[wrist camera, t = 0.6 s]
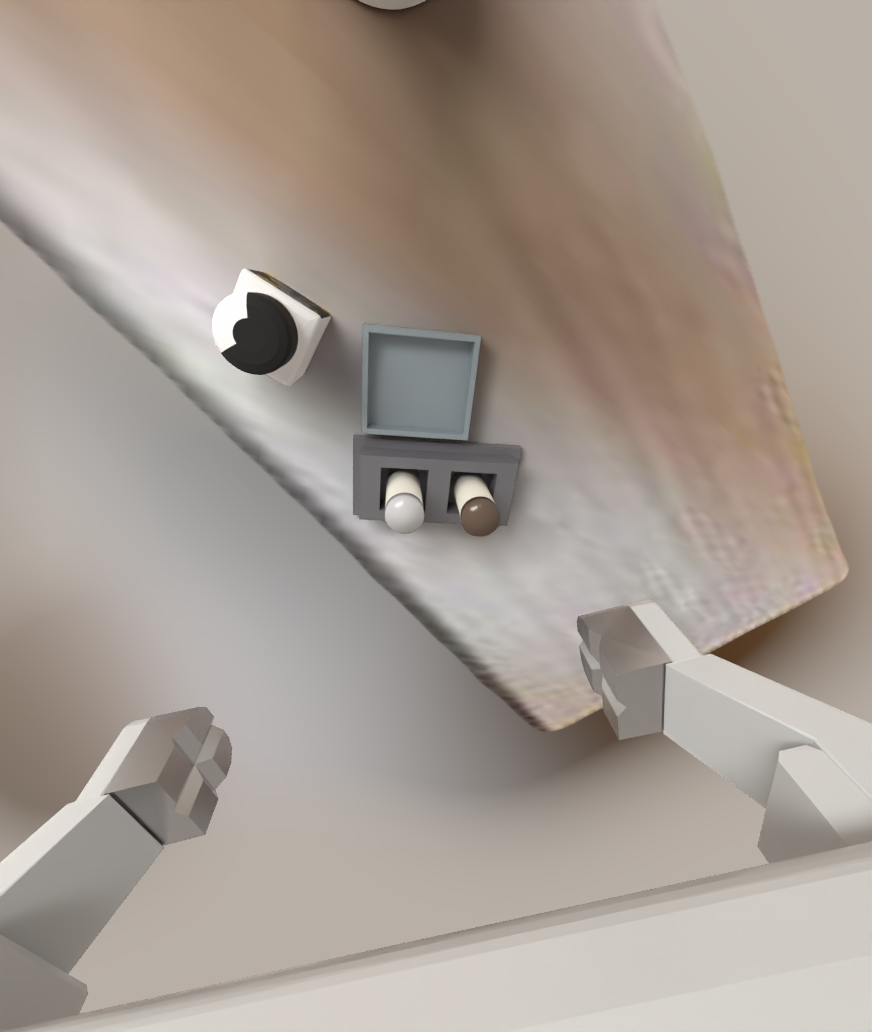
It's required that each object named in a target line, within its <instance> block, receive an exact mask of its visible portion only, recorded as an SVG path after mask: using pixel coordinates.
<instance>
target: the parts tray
mask: <svg viewBox="0 0 872 1032" xmlns="http://www.w3.org/2000/svg"><path fill="white" fill-rule="evenodd" d="M480 342H481V336H480V335H477V334H467V333H457V332H447V331H436V330H426V329H415V328H405V327H395V326H384V325H374V324H363V332H362V420H361V433H363V434H378V435H393V436H409V437H424V438H439V439H454V440H468V434H469V426H470V419H471V411H472V404H473V396H474V388H475V381H476V373H477V365H478V358H479V350H480Z"/></svg>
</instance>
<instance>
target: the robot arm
mask: <svg viewBox="0 0 872 1032" xmlns="http://www.w3.org/2000/svg"><path fill="white" fill-rule="evenodd" d="M359 1H361V2H363V3H365V4H367V5H370V6H373V7H377V8H381V9H394V10H395V9H404V8H408V7H412V6H415V5H417V4H420V3H422V2H424V1H425V0H359ZM577 628H578V632H579V634H580V636H581V637H582V639H583V641H582V643H581V644H580V646H579V648H580V655H581V660H582V664H583V668H584V671H585V674H586V676H587V678H588V681H589V683H590V685H591V687H592V689H593V691H594V692H596V693H597V694H599V695H601V696H602V700H603V710H604V712H605V714H606V716H607V718H608V720H609V722H610V723H611V725H612V727H613V729H614V731H615V733H616V735H617V737H618V739H619V740H622V739H627V738H632V737H637V736H642V735H646V734H652V733H657V732H662V731H664V734H665V735H666V736H668V737H669V738H670V739H672V740H673V741H674V742H676V743H677V744H679V745H680V746H681V747H683V748H684V749H685V750H687V751H688V752H689V753H691V754H692V755H693V756H695V757H696V758H697V759H699V760H700V761H702V762H703V763H705V764H706V765H707V766H708V767H710V768H711V769H712V770H714V771H715V772H717V773H718V774H719V775H721V776H722V777H723V778H725V779H726V780H727V781H729V782H730V783H732V784H733V785H735V786H736V787H737V788H738V789H740V790H741V791H743V792H744V793H745V794H747V795H748V796H749V797H751V798H752V799H754V800H755V801H756V802H758V803H759V804H761V805H762V806H763V807H764V808H766V811H765V815H764V820H763V824H762V829H761V833H760V838H759V842H758V848H759V849H760V851H761V852H762V854H763V855H764V857H765V858H766V860H767V861H768V863H769V864H765V865H761V866H756V867H751V868H747V869H742V870H738V871H733V872H728V873H724V874H720V875H715V876H710V877H706V878H701V879H696V880H692V881H687V882H683V883H678V884H674V885H669V886H664V887H660V888H655V889H650V890H646V891H642V892H637V893H632V894H627V895H623V896H618V897H614V898H609V899H604V900H601V901H595V902H591V903H587V904H582V905H577V906H573V907H568V908H563V909H558V910H554V911H550V912H545V913H540V914H536V915H531V916H526V917H522V918H517V919H513V920H508V921H503V922H499V923H495V924H490V925H485V926H480V927H476V928H472V929H467V930H462V931H458V932H453V933H449V934H444V935H439V936H435V937H431V938H425V939H421V940H416V941H412V942H407V943H402V944H398V945H393V946H389V947H384V948H379V949H375V950H370V951H366V952H361V953H356V954H352V955H347V956H343V957H338V958H334V959H329V960H324V961H320V962H316V963H310V964H306V965H301V966H297V967H292V968H287V969H283V970H278V971H274V972H269V973H265V974H260V975H255V976H251V977H246V978H242V979H237V980H232V981H228V982H223V983H219V984H214V985H210V986H205V987H200V988H196V989H191V990H187V991H182V992H178V993H173V994H168V995H164V996H159V997H155V998H150V999H145V1000H141V1001H136V1002H132V1003H127V1004H123V1005H118V1006H113V1007H109V1008H104V1009H100V1010H96V1011H90V1012H86V1013H82V1014H79V1013H80V1010H81V1008H82V1006H83V1004H84V1001H85V999H86V997H87V995H88V991H87V985H86V984H84V983H83V982H81V981H79V980H78V979H76V978H74V977H72V976H71V975H69V972H70V971H71V970H72V968H73V967H74V966H75V964H76V963H77V962H78V960H79V959H80V958H81V956H82V955H83V954H84V952H85V951H86V950H87V949H88V947H89V946H90V945H91V943H92V942H93V941H94V939H95V938H96V937H97V935H98V934H99V933H100V931H101V930H102V929H103V928H104V926H105V925H106V924H107V922H108V921H109V920H110V918H111V917H112V916H113V914H114V913H115V912H116V910H117V909H118V908H119V906H120V905H121V904H122V903H123V901H124V900H125V899H126V897H127V896H128V895H129V893H130V892H131V891H132V890H133V888H134V887H135V886H136V884H137V883H138V882H139V880H140V879H141V877H142V876H143V875H144V874H145V873H146V871H147V870H148V869H149V867H150V866H151V865H152V863H153V862H154V861H155V859H156V858H157V857H158V855H159V854H160V853H161V851H162V850H163V849H164V847H163V846H164V845H168V844H172V843H176V842H179V841H183V840H187V839H191V838H195V837H198V836H202V835H205V834H206V831H207V828H208V826H209V823H210V820H211V817H212V814H213V812H214V809H215V807H216V804H217V801H218V797H217V794H216V790H215V789H216V788H217V787H218V786H219V785H220V783H221V782H222V781H223V780H224V779H225V778H226V776H227V773H228V771H229V768H230V765H231V756H232V746H231V743H230V739H229V737H228V736H227V734H226V733H225V731H224V730H222V729H220V728H218V727H215V726H213V725H212V723H213V720H214V716H213V715H212V714H211V712H210V711H209V710H208V709H207V708H206V707H196V708H192V709H187V710H183V711H177V712H173V713H168V714H164V715H159V716H155V717H151V718H147V719H142V720H137V721H133V722H132V723H130V724H129V725H127V726H126V727H124V729H123V730H122V732H121V733H120V735H119V736H118V738H117V739H116V741H115V742H114V744H113V745H112V747H111V748H110V750H109V751H108V753H107V755H106V756H105V758H104V759H103V761H102V762H101V764H100V765H99V767H98V768H97V770H96V771H95V773H94V774H93V776H92V777H91V779H90V781H89V782H88V783H87V785H86V786H85V788H84V789H83V791H82V793H81V794H80V796H79V797H78V799H77V800H76V802H73V803H69V804H67V805H66V806H65V807H64V808H62V809H61V810H60V811H59V812H58V813H57V814H56V815H54V816H53V817H52V818H51V819H50V820H49V821H47V822H46V823H45V824H44V825H43V826H42V827H41V828H39V829H38V830H37V831H36V832H35V833H34V834H33V835H31V836H30V837H29V838H28V839H27V840H26V841H25V842H23V843H22V844H21V845H20V846H19V847H18V848H17V849H15V850H14V851H13V852H12V853H11V854H10V855H9V856H7V857H6V858H5V859H4V860H3V861H2V862H1V863H0V1032H872V724H870V723H868V722H866V721H864V720H862V719H859V718H857V717H854V716H852V715H850V714H848V713H845V712H843V711H841V710H839V709H836V708H834V707H832V706H829V705H827V704H825V703H823V702H820V701H818V700H816V699H813V698H811V697H809V696H806V695H804V694H802V693H800V692H797V691H795V690H792V689H790V688H788V687H786V686H783V685H781V684H779V683H777V682H774V681H772V680H770V679H767V678H765V677H763V676H761V675H758V674H756V673H754V672H751V671H749V670H747V669H744V668H742V667H740V666H738V665H735V664H733V663H731V662H728V661H726V660H724V659H721V658H719V657H717V656H715V655H712V654H708V655H702V654H701V653H700V652H699V651H698V649H697V648H696V647H695V646H694V645H693V644H692V643H691V642H690V640H689V639H688V638H687V637H686V636H685V635H684V634H683V633H682V632H681V630H680V629H679V628H678V627H677V626H676V625H675V624H674V623H673V621H672V620H671V619H670V618H669V617H668V616H667V615H666V614H665V613H664V611H663V610H662V609H661V608H660V607H659V606H658V605H657V604H656V603H655V601H653V600H651V599H645V600H641V601H637V602H633V603H629V604H626V605H625V606H624V605H622V606H618V607H614V608H610V609H606V610H602V611H598V612H594V613H590V614H586V615H582V616H578V619H577Z"/></svg>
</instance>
